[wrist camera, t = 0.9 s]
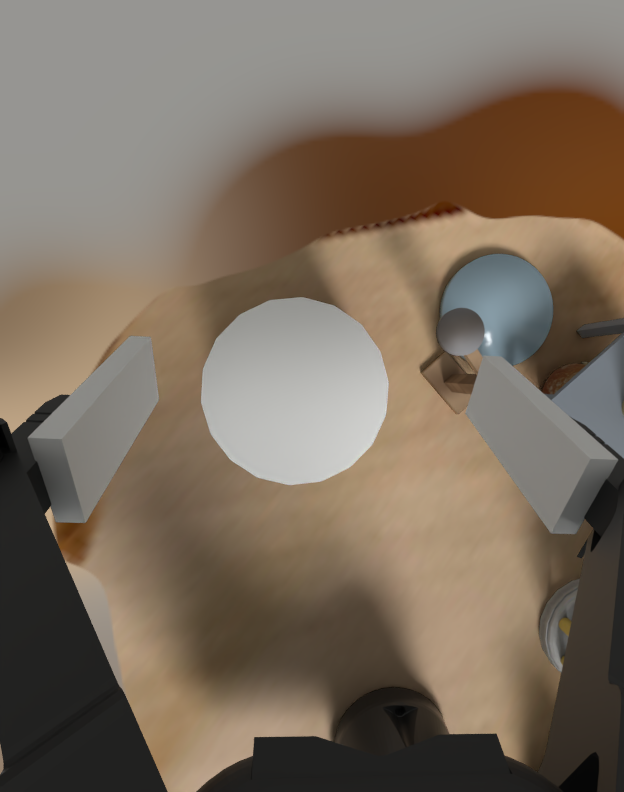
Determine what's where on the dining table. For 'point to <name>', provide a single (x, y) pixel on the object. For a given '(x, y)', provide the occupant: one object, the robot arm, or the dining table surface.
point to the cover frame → (599, 388)
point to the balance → (458, 338)
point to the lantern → (558, 623)
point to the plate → (503, 304)
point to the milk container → (294, 391)
